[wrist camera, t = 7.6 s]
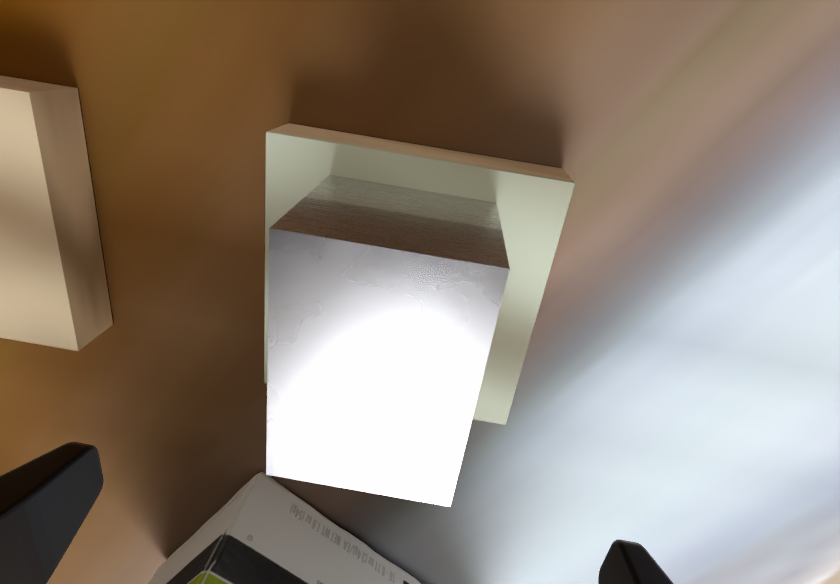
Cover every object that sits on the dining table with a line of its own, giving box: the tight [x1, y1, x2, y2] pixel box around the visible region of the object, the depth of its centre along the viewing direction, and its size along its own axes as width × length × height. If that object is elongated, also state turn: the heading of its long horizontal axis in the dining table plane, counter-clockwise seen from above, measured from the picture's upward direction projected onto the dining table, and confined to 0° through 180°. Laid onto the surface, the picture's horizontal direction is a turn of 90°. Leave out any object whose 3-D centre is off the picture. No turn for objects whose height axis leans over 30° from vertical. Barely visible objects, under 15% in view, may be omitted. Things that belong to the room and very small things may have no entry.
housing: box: [266, 175, 510, 507], centre depth 14 cm, size 7×5×5 cm
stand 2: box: [264, 123, 575, 425], centre depth 17 cm, size 9×9×2 cm
